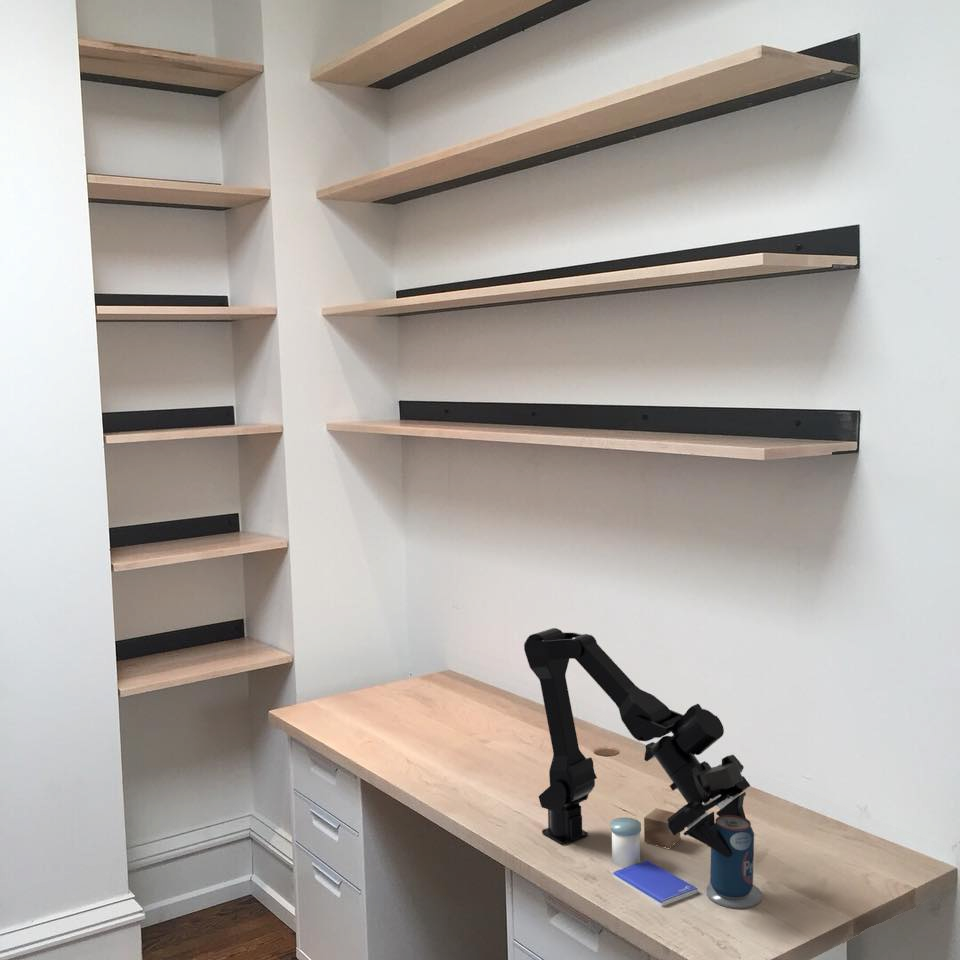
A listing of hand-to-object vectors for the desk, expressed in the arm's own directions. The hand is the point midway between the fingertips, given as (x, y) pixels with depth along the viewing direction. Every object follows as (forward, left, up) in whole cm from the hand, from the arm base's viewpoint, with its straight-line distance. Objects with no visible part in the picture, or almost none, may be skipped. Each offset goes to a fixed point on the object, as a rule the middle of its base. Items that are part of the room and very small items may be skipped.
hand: (740, 848), depth 172 cm
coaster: (-1, 0, -8) cm, 9 cm away
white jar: (-21, -6, -8) cm, 24 cm away
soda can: (-1, -1, -8) cm, 8 cm away
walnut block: (-23, +5, -9) cm, 25 cm away
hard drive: (-12, -8, -9) cm, 17 cm away
